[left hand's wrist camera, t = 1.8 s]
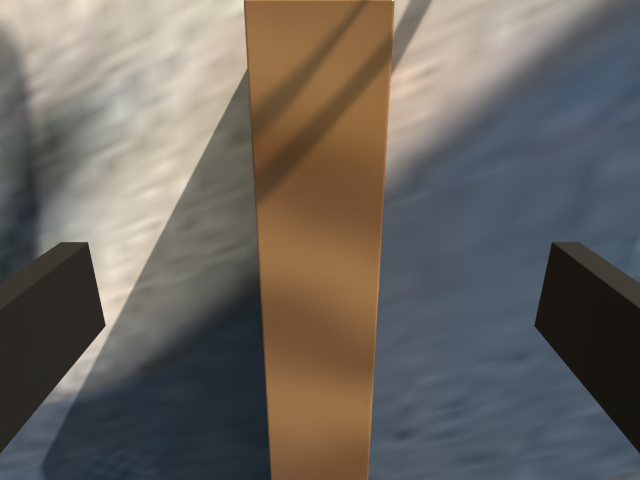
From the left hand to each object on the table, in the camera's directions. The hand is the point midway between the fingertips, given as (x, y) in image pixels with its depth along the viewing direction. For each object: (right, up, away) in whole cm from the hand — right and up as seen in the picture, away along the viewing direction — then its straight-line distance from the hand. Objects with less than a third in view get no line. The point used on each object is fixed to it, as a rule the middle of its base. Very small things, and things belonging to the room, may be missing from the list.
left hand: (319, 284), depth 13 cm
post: (0, -21, +23) cm, 31 cm away
